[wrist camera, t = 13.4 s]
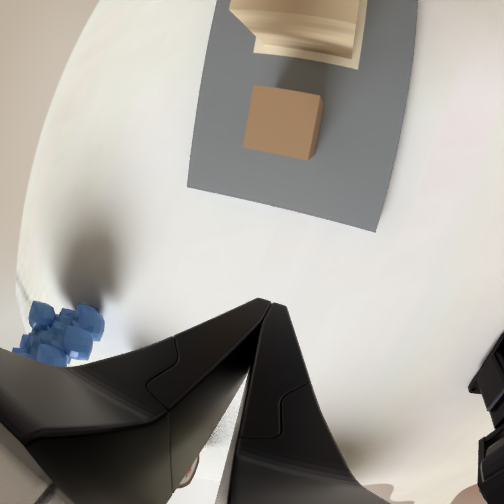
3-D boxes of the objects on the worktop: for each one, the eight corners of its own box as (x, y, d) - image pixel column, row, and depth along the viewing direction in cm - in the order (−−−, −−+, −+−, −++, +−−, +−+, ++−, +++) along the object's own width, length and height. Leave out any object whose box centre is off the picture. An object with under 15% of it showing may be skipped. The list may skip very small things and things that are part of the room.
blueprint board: (414, -79, 9) (424, -116, 4) (373, 226, 18) (383, 258, 14) (251, -98, 11) (229, -134, 6) (194, 183, 21) (153, 200, 16)
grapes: (110, 261, 25) (7, 331, 15) (142, 326, 27) (61, 412, 16) (49, 283, 30) (-28, 335, 19) (76, 334, 31) (8, 394, 21)
